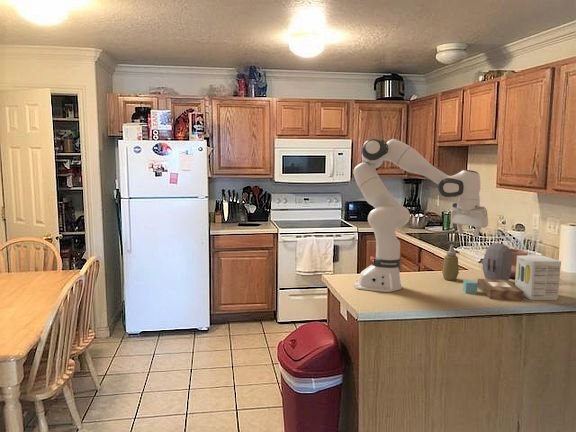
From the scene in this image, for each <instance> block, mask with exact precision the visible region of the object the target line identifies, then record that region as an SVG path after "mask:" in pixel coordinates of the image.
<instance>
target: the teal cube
mask: <svg viewBox="0 0 576 432" xmlns="http://www.w3.org/2000/svg"><path fill="white" fill-rule="evenodd" d="M462 283H463V284H462V291H463V292H464V293H465V294H471V295H472V294H473V295H474V294H475V295H477V294H478V287H477V286H478V281H475V280H471V279H470V280H469V279H467V280H466V279H463V282H462Z"/></svg>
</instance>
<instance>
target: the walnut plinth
mask: <svg viewBox="0 0 576 432" xmlns="http://www.w3.org/2000/svg"><path fill="white" fill-rule="evenodd" d="M477 283H478V286H477V289H479V290H480V291H481V292H482V293H483V294H484V295H485V296H486V297H487V298H489V300H490V299H491V300H506V301H507V300H509V301H510V300H511V301H524V296H523V295H524V291H522V290H521V289H520V288H518V287H517V286H516V285H515V283H513V282H512V281H510V279H509V280H494V279H486V278H477Z"/></svg>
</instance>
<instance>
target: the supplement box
mask: <svg viewBox="0 0 576 432" xmlns="http://www.w3.org/2000/svg"><path fill="white" fill-rule="evenodd" d="M561 267H562V260H557V259H555V258H551V257H548V256H544V255H527V256H517V264H516V278H514V279H515V281H514V285H516V286H517V287H518V288H520V289H521V290H522V291H524V295H523V298H526V299H527V300H528V299H529V300H530V301H534V300H535V301H553V300H555V301H556V300H559V289H560V279H561V278H560V276H561Z"/></svg>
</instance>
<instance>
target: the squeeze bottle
mask: <svg viewBox="0 0 576 432" xmlns="http://www.w3.org/2000/svg"><path fill="white" fill-rule="evenodd" d="M454 248H455V247H454V244H450V246H449V248H448V249H449V250H447V251H446V255H444V259H443V263H442V264H443V265H442V269H441V272H442V276H443V279H444V280H446V281H455V280H457V278H458V276H459V273H460V272H459V271H460V269H459V256H457V252H456V251H455V249H454Z"/></svg>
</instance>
